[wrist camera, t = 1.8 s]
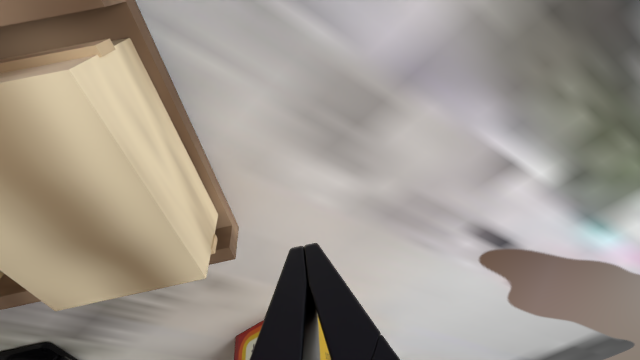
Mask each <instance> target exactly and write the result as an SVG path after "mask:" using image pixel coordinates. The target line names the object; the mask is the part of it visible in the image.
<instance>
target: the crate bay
mask: <svg viewBox="0 0 640 360" xmlns="http://www.w3.org/2000/svg"><path fill="white" fill-rule="evenodd" d="M126 38H130V39H131V41H132V43H133V45H134V47H135V49H136V51H137V53H138V55H139V57H140V59H141V61H142V63H143V65H144V67H145V69H146V71H147V73H148V75H149V77H150V79H151V81H152V83H153V85H154V87H155V89H156V91H157V93H158V95H159V97H160V99H161V101H162V103H163V105H164V107H165V109H166V111H167V113H168V115H169V117H170V119H171V121H172V123H173V125H174V127H175V129H176V131H177V133H178V135H179V137H180V139H181V141H182V143H183V145H184V147H185V149H186V151H187V153H188V155H189V157H190V159H191V161H192V163H193V165H194V167H195V169H196V171H197V173H198V175H199V177H200V179H201V181H202V183H203V185H204V187H205V189H206V191H207V193H208V195H209V197H210V199H211V201H212V203H213V205H214V207H215V209H216V211H217V213H218V219H217V224H216V230H215V234H216V236H217V238H218V239H217V245H216V251H215V254H211V256H210V261H209V265H210V264H215V263H219V262H224V261H228V260H233V259H235V257H236V248H237V238H238V229H239V227H238V225H237V222H236V220H235V218H234V216H233V214H232V211H231V209H230V207H229V205H228V203H227V200H226V198H225V196H224V194H223V192H222V190H221V187H220V185H219V183H218V181H217V179H216V176H215V174H214V172H213V170H212V168H211V165H210V163H209V161H208V159H207V157H206V155H205V152H204V150H203V148H202V146H201V144H200V141H199V139H198V137H197V135H196V133H195V131H194V128H193V126H192V124H191V122H190V120H189V117H188V115H187V113H186V111H185V109H184V106H183V104H182V102H181V100H180V98H179V96H178V93H177V91H176V89H175V87H174V85H173V82H172V80H171V78H170V76H169V74H168V71H167V69H166V67H165V65H164V63H163V61H162V58H161V56H160V54H159V52H158V50H157V47H156V45H155V43H154V41H153V39H152V37H151V34H150V32H149V30H148V28H147V26H146V23H145V21H144V19H143V17H142V15H141V12H140V10H139V8H138V6H137V4H136V2H135V0H0V59H5V58H10V57H15V56H21V55H26V54H31V53H36V52H42V51H47V50H52V49H57V48H63V47H68V46H73V45H78V44H83V43H89V42H94V41H99V40H104V39H110V40H111V41H115V40H120V39H126ZM39 301H41V300H39V299H38V298H37V297H35V296H34V295H33V294H31V293H30V292H29V291H27V290H26V289H25V288H23V287H22V286H21V285H19V284H18V283H17V282H15V281H14V280H13V279H11V278H10V277H8V276H7V275H6V274H4V273H3V272H2V271H0V310H2V309H7V308H11V307H16V306H21V305H25V304H30V303H35V302H39Z"/></svg>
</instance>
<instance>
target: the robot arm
mask: <svg viewBox="0 0 640 360" xmlns="http://www.w3.org/2000/svg"><path fill="white" fill-rule="evenodd" d="M317 314H318V315H317ZM318 318H319V321H320V324H321V328H322V331H323V334H324V338H325V341H326V344H327V348H328V351H329V355H330V358H331V360H400V359H399V357H398V356H397V355H396V353H395V352H394V351H393V349H392V348H391V347H390V345H389V344H388V343H387V341H386V340H385V338H384V337H383V336H382V335H380V331H379V330H378V329H377V327H376V326H375V324H374V323H373V321H372V320H371V319H370V317H369V316H368V314H367V313H366V312H365V310H364V309H363V307H362V306H361V304H360V303H359V302H358V300H357V299H356V297H355V296H354V295H353V293H352V292H351V290H350V289H349V287H348V286H347V285H346V283H345V282H344V280H343V279H342V277H341V276H340V275H339V273H338V272H337V270H336V269H335V268H334V266H333V265H332V263H331V262H330V260H329V259H328V258H327V256H326V255H325V253H324V252H323V250H322V249H321V248H320V246H319V245H318V244H317V243H313V244H308V245H305V246H304V247H303V246H299V247H294V248H291V249H290V251H289V253H288V256H287V259H286V262H285V264H284V267H283V270H282V272H281V275H280V278H279V281H278V283H277V286H276V289H275V292H274V294H273V297H272V300H271V302H270V305H269V308H268V311H267V313H266V316H265V319H264V322H263V324H262V327H261V330H260V332H259V335H258V338H257V341H256V343H255V346H254V349H253V352H252V354H251V357H250V360H320V345H319V327H318ZM0 360H76V359H74V358H73V357H71V356H70V355H68V354H67V353H65V352H63V351H62V350H60V349H59V348H57V347H56V346H54V345H53V344H50V343H42V344H37V345H33V346H28V347H24V348H19V349H15V350H10V351H6V352H1V353H0Z"/></svg>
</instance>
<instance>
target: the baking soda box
mask: <svg viewBox="0 0 640 360" xmlns="http://www.w3.org/2000/svg"><path fill="white" fill-rule="evenodd" d="M317 315H318V314H317ZM263 322H264V320H263V321H262V322H260V323H258V324H256V325H255V326H253V327H251V328H250V329H248V330H246V331H244V332H243V333H241V334H239V335H238V336H236V341H235V353H234V360H250V357H251V354H252V352H253V349H254V346H255V343H256V341H257V338H258V335H259V332H260V330H261V327H262V324H263ZM318 327H319V345H320V360H331V358H330V355H329V351H328V348H327V344H326V341H325V338H324V334H323V331H322V328H321V324H320V321H319V318H318Z"/></svg>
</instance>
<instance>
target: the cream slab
mask: <svg viewBox="0 0 640 360" xmlns="http://www.w3.org/2000/svg"><path fill="white" fill-rule="evenodd" d="M217 219H218V213H217V211H216V209H215V207H214V205H213V203H212V201H211V199H210V197H209V195H208V193H207V191H206V189H205V187H204V185H203V183H202V181H201V179H200V177H199V175H198V173H197V171H196V169H195V167H194V165H193V163H192V161H191V159H190V157H189V155H188V153H187V151H186V149H185V147H184V145H183V143H182V141H181V139H180V137H179V135H178V133H177V131H176V129H175V127H174V125H173V123H172V121H171V119H170V117H169V115H168V113H167V111H166V109H165V107H164V105H163V103H162V101H161V99H160V97H159V95H158V93H157V91H156V89H155V87H154V85H153V83H152V81H151V79H150V77H149V75H148V73H147V71H146V69H145V67H144V65H143V63H142V61H141V59H140V57H139V55H138V53H137V51H136V49H135V47H134V45H133V43H132V41H131V39H130V38H126V39H120V40H115V41H111V40H110V39H104V40H99V41H94V42H89V43H83V44H78V45H73V46H68V47H63V48H57V49H52V50H47V51H42V52H36V53H31V54H26V55H21V56H15V57H10V58H5V59H0V271H2V272H3V273H4V274H6V275H7V276H8V277H10V278H11V279H13V280H14V281H15V282H17V283H18V284H19V285H21V286H22V287H23V288H25V289H26V290H27V291H29V292H30V293H31V294H33V295H34V296H35V297H37V298H38V299H39V300H41V301H42V302H44V303H45V304H46V305H48V306H49V307H50V308H52V309H53V310H54V311H59V310H63V309H68V308H73V307H77V306H82V305H86V304H91V303H96V302H100V301H105V300H109V299H114V298H119V297H123V296H128V295H132V294H137V293H141V292H146V291H151V290H155V289H160V288H164V287H169V286H174V285H178V284H183V283H187V282H192V281H196V280H201V279H206V276H207V271H208V266H209V261H210V256H211V254H215V251H216V245H217V239H218V238H217V236H216V234H215V230H216V224H217Z"/></svg>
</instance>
